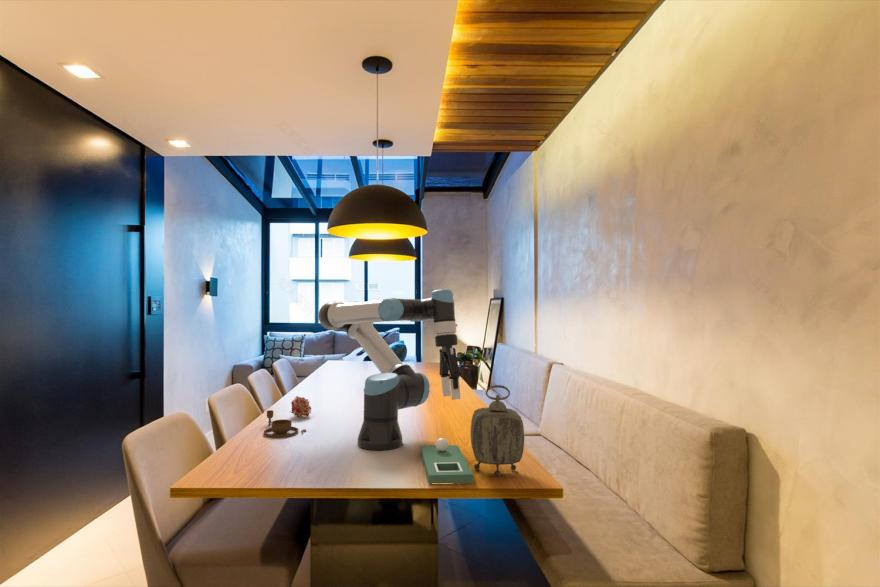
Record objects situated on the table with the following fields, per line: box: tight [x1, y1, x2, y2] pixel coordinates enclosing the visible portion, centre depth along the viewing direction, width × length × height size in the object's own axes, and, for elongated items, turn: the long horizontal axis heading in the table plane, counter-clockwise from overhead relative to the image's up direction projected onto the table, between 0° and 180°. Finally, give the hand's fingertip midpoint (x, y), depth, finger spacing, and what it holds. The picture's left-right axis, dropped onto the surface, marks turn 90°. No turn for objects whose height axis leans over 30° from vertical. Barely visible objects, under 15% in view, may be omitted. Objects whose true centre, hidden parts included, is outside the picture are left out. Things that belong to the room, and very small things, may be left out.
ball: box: [434, 437, 449, 452], centre depth 142 cm, size 4×4×4 cm
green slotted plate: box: [420, 444, 474, 484], centre depth 134 cm, size 12×26×2 cm, turn 7°
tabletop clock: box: [470, 384, 525, 477], centre depth 131 cm, size 14×9×25 cm, turn 91°
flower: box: [288, 395, 312, 419], centre depth 192 cm, size 10×9×8 cm
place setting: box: [263, 409, 307, 439], centre depth 170 cm, size 18×20×6 cm
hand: (451, 397), depth 154 cm, fingers open, 13 cm apart
